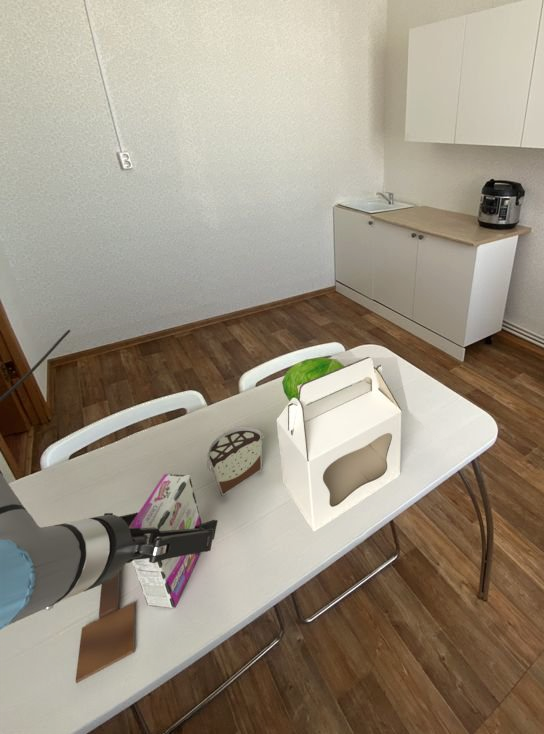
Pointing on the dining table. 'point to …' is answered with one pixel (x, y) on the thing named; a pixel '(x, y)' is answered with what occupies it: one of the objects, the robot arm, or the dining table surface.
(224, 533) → the dining table surface
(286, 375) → the lettuce
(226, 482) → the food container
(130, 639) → the spatula
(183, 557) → the candy bar box
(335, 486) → the gable box
